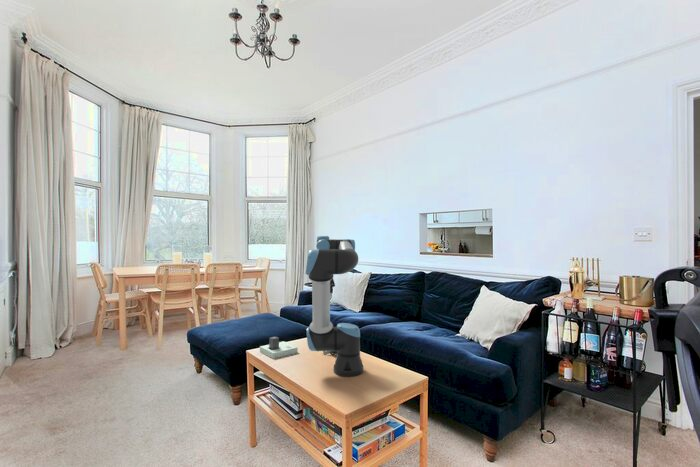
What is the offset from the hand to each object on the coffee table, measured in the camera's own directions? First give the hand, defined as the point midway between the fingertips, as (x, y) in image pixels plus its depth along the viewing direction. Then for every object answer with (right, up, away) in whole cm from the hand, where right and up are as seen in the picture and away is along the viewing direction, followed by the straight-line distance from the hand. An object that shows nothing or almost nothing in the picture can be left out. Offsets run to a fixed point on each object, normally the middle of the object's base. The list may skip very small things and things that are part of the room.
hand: (322, 297), depth 212 cm
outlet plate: (-26, -32, -4) cm, 41 cm away
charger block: (-28, -32, -6) cm, 43 cm away
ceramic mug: (+6, -32, -6) cm, 33 cm away
